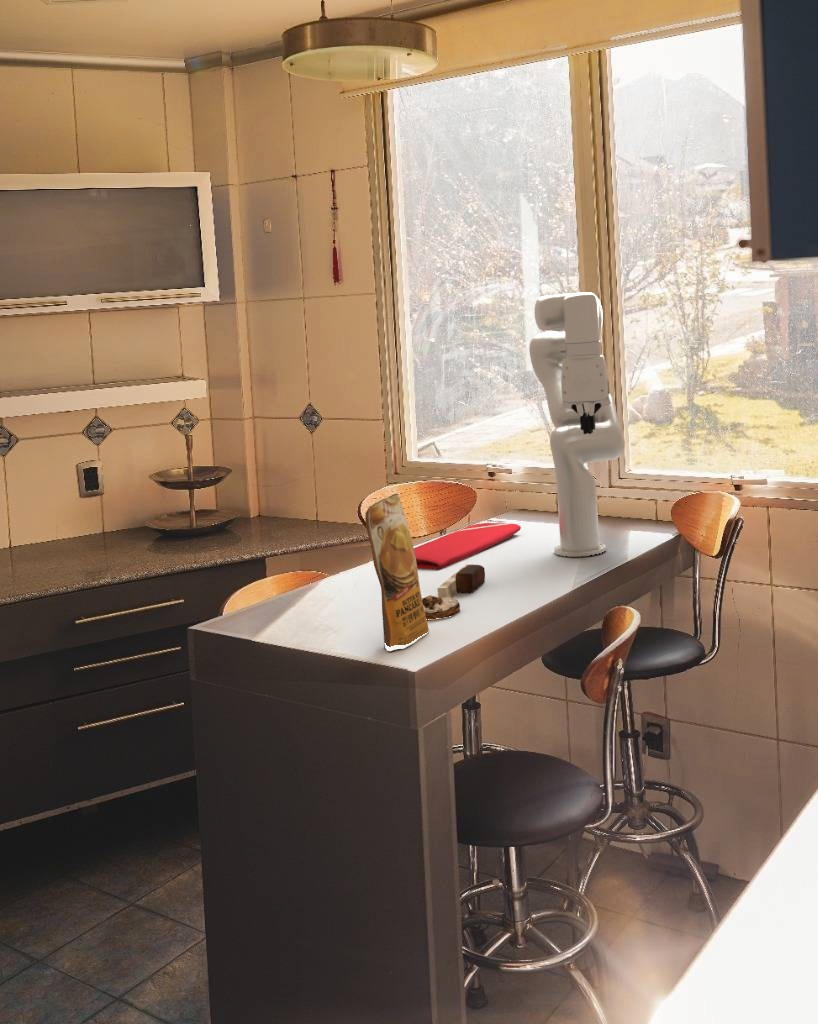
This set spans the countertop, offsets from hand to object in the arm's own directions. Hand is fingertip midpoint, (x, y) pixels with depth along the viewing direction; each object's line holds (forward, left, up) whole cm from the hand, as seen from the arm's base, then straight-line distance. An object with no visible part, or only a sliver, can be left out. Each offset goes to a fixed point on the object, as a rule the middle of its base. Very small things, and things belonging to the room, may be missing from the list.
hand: (588, 433), depth 268 cm
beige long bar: (+14, -29, -32) cm, 45 cm away
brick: (+13, -26, -32) cm, 44 cm away
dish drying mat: (-26, -41, -33) cm, 58 cm away
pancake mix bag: (+54, -28, -32) cm, 69 cm away
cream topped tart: (+34, -29, -33) cm, 55 cm away
